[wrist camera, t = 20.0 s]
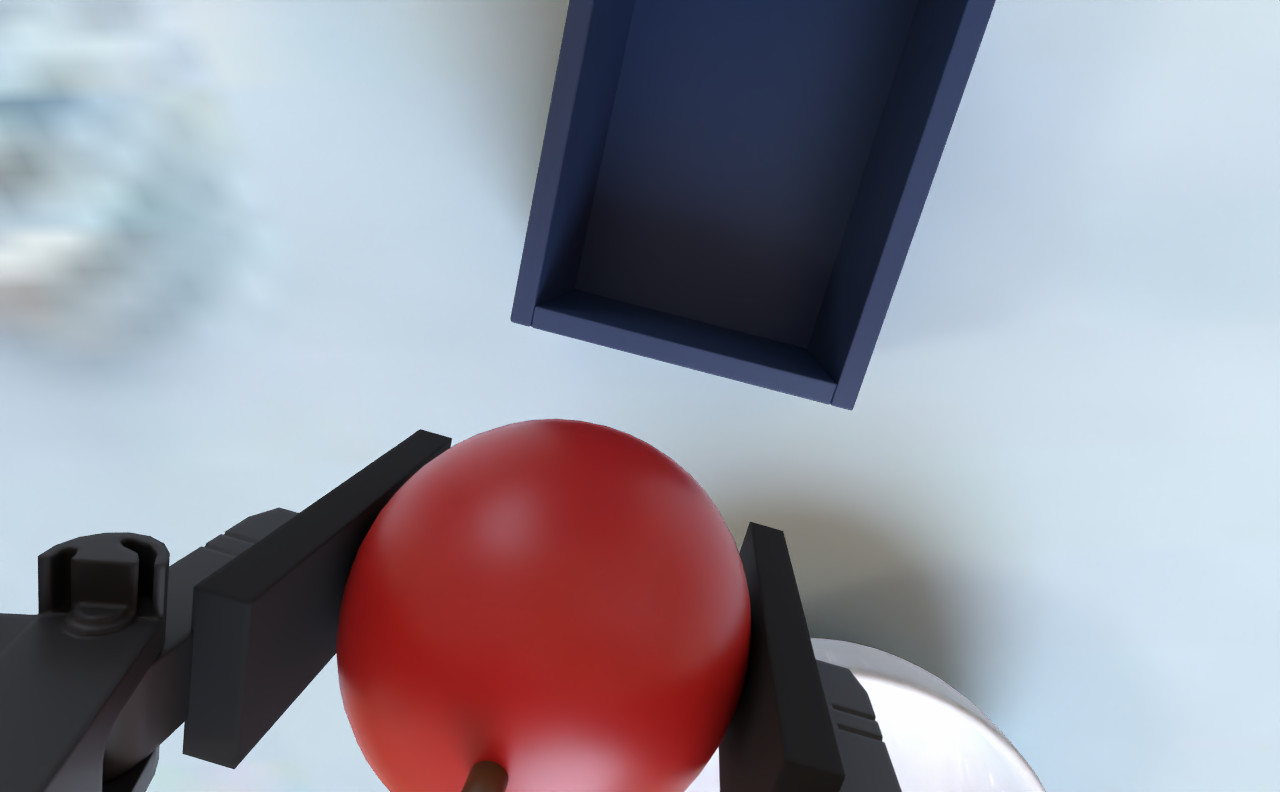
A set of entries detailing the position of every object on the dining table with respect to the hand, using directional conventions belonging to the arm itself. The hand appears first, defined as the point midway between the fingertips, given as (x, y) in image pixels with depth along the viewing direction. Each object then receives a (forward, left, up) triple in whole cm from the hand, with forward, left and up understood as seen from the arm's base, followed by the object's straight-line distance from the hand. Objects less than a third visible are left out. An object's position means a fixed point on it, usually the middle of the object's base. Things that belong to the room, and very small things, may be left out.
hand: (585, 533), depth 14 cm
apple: (0, 0, +3) cm, 3 cm away
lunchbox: (+1, +11, -17) cm, 20 cm away
